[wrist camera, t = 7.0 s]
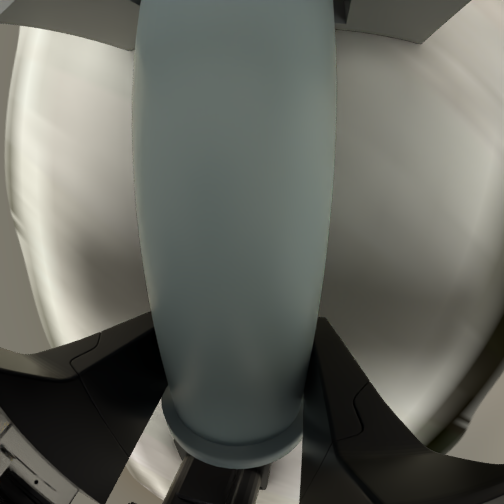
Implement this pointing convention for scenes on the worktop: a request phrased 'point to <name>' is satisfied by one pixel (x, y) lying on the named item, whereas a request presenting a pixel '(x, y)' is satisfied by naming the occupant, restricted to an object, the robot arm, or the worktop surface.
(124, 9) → the box
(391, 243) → the worktop surface
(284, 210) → the cylinder
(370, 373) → the worktop surface
